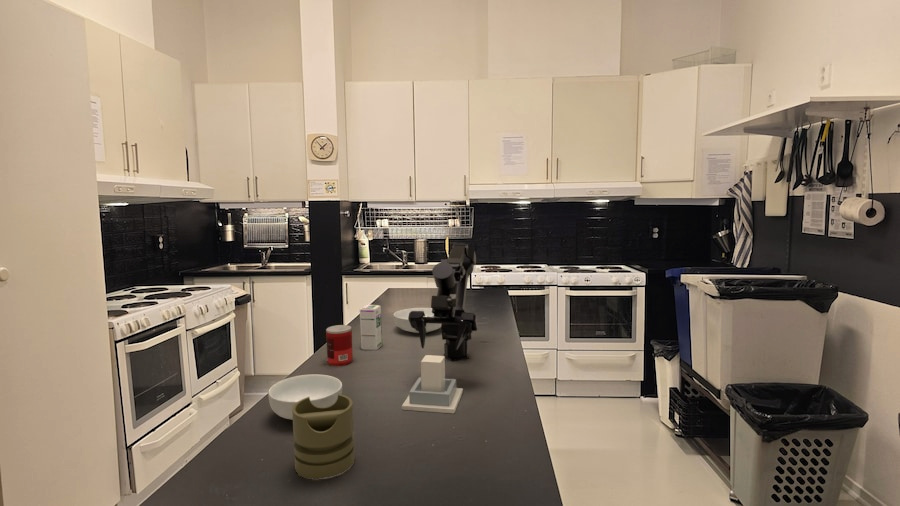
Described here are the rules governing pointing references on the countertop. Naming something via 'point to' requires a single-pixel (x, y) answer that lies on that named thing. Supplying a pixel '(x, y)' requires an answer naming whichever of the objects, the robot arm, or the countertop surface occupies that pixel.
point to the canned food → (339, 345)
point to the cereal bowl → (303, 392)
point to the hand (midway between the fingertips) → (439, 348)
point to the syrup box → (371, 327)
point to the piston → (323, 437)
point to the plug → (433, 373)
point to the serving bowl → (404, 323)
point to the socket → (434, 398)
